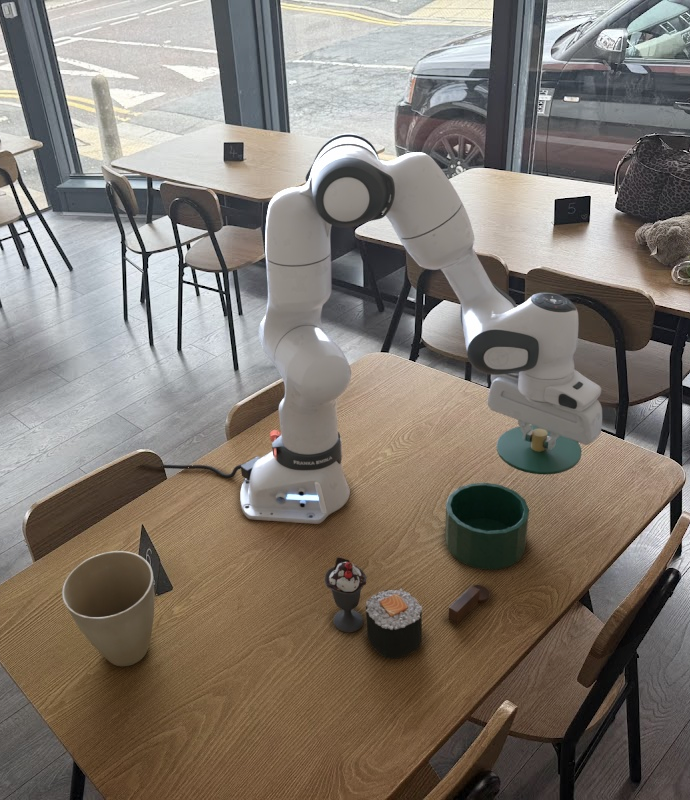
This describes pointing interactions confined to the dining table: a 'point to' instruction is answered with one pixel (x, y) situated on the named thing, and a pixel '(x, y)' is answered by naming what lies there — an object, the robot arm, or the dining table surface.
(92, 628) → the plant pot
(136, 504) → the dining table surface
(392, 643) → the sushi
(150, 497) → the dining table surface
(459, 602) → the brown bar with disc
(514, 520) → the tin
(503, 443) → the lid
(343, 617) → the sundae
